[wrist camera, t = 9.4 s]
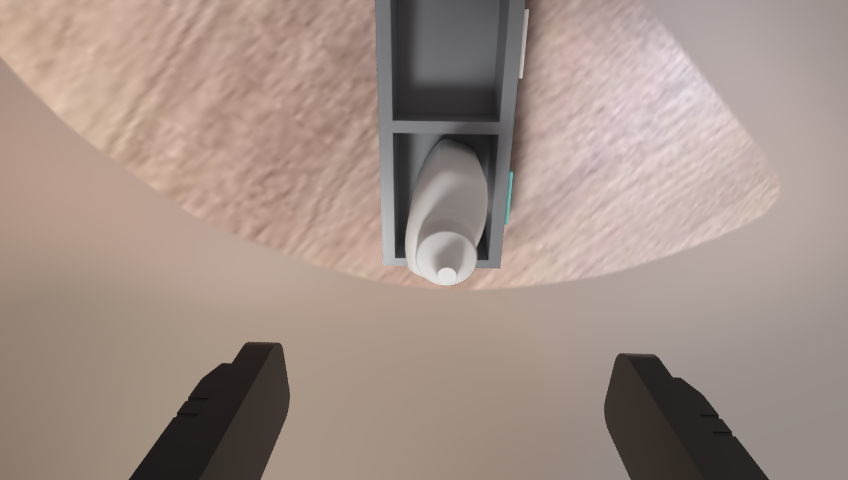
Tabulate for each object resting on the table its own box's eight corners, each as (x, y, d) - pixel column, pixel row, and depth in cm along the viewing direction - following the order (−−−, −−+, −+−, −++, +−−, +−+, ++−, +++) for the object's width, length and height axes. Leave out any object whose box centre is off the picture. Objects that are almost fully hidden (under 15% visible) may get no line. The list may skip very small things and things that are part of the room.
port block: (386, -37, 23) (372, -61, 18) (518, -36, 22) (538, -60, 18) (392, 232, 29) (383, 265, 24) (494, 235, 29) (505, 268, 24)
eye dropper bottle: (387, 188, 26) (348, 282, 15) (455, 126, 24) (467, 180, 13) (433, 236, 27) (429, 355, 16) (501, 179, 26) (548, 270, 15)
